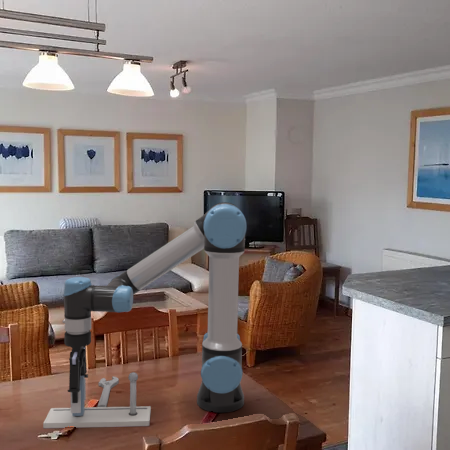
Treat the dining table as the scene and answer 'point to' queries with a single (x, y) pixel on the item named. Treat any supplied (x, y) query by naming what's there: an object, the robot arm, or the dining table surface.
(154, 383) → the dining table surface
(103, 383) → the adjustable wrench
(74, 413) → the post
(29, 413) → the dining table surface
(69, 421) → the plate
